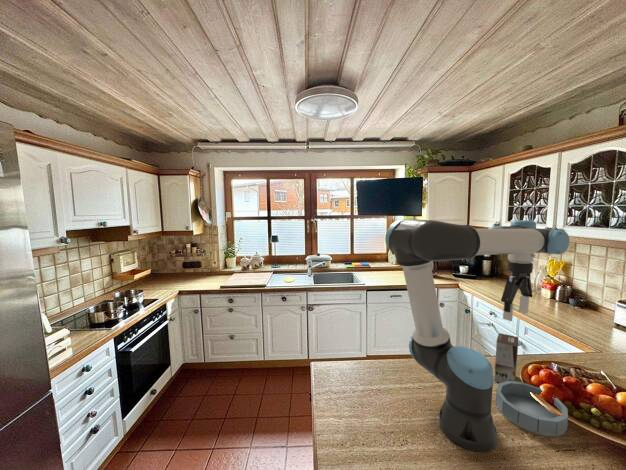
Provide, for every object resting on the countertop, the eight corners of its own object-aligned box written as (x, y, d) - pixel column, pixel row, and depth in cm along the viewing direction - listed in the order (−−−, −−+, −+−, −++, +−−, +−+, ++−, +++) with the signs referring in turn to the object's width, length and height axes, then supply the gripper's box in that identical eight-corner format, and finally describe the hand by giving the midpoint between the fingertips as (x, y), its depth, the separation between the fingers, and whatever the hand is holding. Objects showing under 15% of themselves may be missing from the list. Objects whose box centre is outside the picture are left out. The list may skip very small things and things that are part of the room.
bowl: (541, 444, 74) (542, 428, 74) (483, 401, 91) (484, 387, 90) (580, 427, 80) (581, 411, 79) (519, 389, 96) (520, 376, 96)
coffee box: (514, 388, 97) (517, 346, 95) (493, 381, 101) (496, 341, 99) (515, 375, 104) (518, 336, 102) (496, 369, 108) (498, 332, 106)
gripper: (517, 267, 89) (512, 327, 91) (545, 259, 102) (540, 312, 104) (492, 263, 96) (488, 319, 98) (522, 256, 109) (518, 306, 111)
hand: (515, 316), depth 101 cm, fingers open, 13 cm apart
